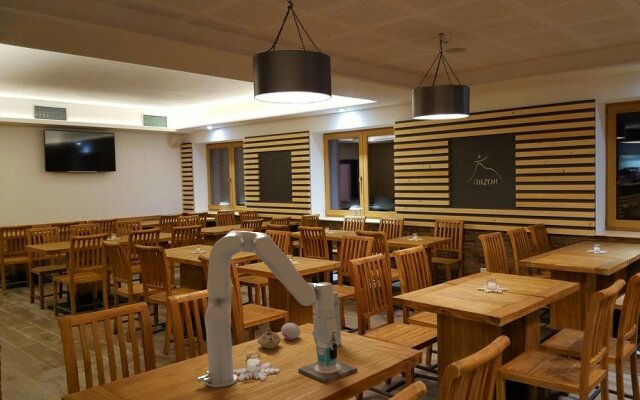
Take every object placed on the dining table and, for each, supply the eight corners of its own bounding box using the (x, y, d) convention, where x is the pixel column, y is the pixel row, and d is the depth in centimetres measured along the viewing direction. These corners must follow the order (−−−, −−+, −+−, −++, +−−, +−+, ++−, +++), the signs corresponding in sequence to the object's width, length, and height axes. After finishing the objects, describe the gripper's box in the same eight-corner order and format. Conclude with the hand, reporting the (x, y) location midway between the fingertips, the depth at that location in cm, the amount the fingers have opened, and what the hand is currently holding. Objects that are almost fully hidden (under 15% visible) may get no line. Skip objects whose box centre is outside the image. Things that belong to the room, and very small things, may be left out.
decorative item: (296, 323, 265) (292, 313, 258) (305, 340, 257) (301, 330, 250) (280, 331, 263) (276, 321, 256) (288, 349, 256) (284, 338, 249)
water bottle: (326, 342, 248) (323, 290, 247) (342, 342, 247) (340, 290, 246) (323, 348, 239) (321, 295, 238) (340, 348, 238) (338, 295, 237)
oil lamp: (263, 354, 235) (262, 337, 235) (254, 345, 249) (254, 328, 249) (286, 350, 239) (285, 333, 239) (276, 341, 253) (275, 325, 253)
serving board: (325, 383, 199) (325, 379, 198) (298, 372, 212) (298, 367, 212) (357, 371, 209) (357, 367, 209) (330, 361, 222) (329, 357, 222)
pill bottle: (336, 364, 214) (335, 332, 213) (335, 371, 206) (334, 337, 206) (318, 364, 215) (317, 332, 214) (316, 371, 207) (315, 337, 207)
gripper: (304, 311, 214) (306, 353, 215) (332, 319, 200) (333, 363, 201) (318, 308, 219) (320, 349, 219) (346, 315, 205) (348, 359, 206)
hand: (326, 355), depth 210 cm, fingers open, 7 cm apart
